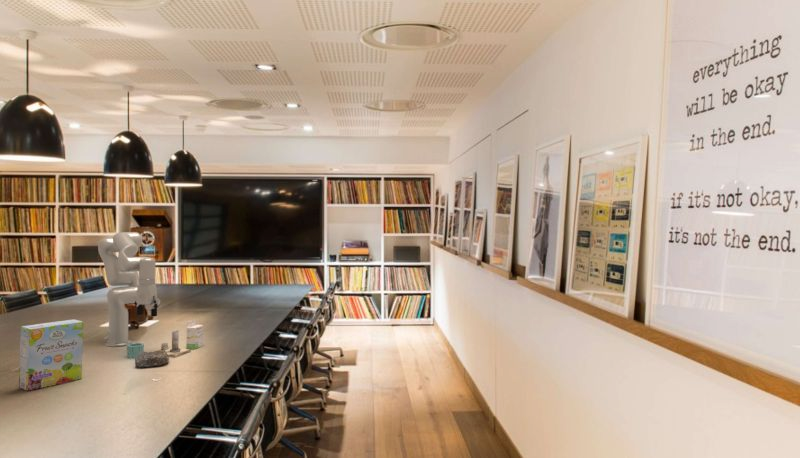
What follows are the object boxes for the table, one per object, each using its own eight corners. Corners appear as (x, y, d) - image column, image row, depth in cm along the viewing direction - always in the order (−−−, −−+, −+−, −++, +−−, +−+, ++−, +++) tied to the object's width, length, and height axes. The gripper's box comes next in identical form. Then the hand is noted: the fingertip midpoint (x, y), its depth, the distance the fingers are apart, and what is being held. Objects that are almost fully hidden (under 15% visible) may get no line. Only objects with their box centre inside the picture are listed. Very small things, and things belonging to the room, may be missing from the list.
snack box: (28, 392, 216) (28, 328, 215) (18, 388, 220) (18, 326, 220) (83, 379, 234) (84, 320, 234) (73, 375, 239) (73, 318, 238)
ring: (123, 357, 270) (123, 345, 270) (134, 354, 277) (134, 342, 277) (136, 358, 268) (136, 347, 268) (146, 355, 275) (146, 343, 275)
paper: (127, 377, 239) (127, 375, 239) (169, 373, 246) (169, 371, 246) (122, 395, 216) (122, 392, 216) (169, 390, 223) (169, 387, 223)
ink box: (194, 349, 289) (194, 322, 288) (186, 348, 290) (186, 321, 289) (203, 345, 297) (203, 319, 297) (195, 345, 298) (195, 318, 298)
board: (149, 354, 276) (149, 331, 276) (164, 349, 288) (165, 327, 288) (175, 357, 272) (175, 333, 272) (190, 351, 284) (190, 329, 283)
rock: (134, 370, 250) (169, 367, 256) (134, 356, 250) (170, 354, 256) (135, 362, 262) (168, 360, 268) (135, 349, 261) (169, 347, 268)
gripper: (128, 281, 274) (128, 315, 274) (153, 284, 267) (153, 318, 268) (141, 280, 281) (140, 312, 281) (165, 282, 274) (165, 315, 275)
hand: (147, 315), depth 274 cm, fingers open, 9 cm apart
